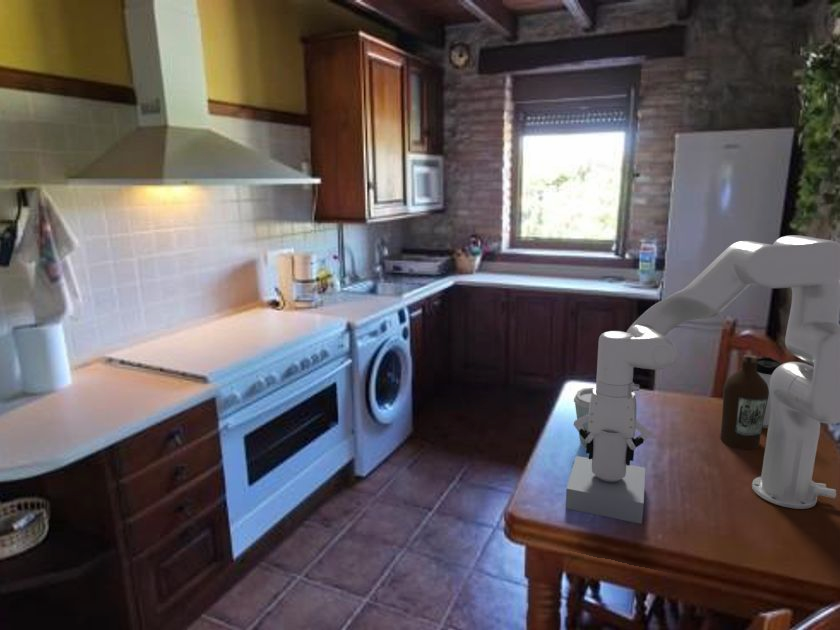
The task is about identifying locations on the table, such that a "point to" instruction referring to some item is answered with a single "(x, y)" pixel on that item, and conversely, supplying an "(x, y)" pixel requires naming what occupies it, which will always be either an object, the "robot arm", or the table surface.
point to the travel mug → (766, 380)
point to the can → (609, 456)
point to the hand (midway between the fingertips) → (609, 459)
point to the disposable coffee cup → (583, 407)
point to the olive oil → (744, 406)
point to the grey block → (606, 492)
